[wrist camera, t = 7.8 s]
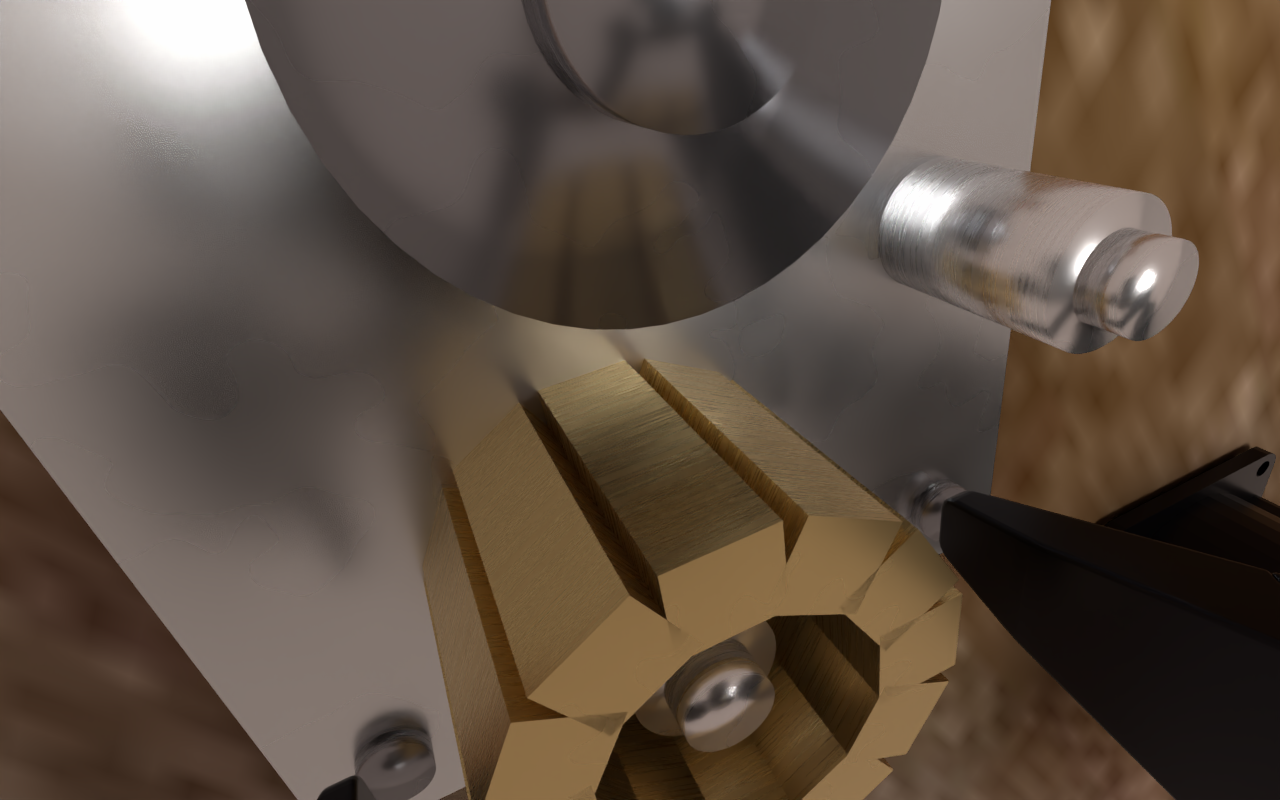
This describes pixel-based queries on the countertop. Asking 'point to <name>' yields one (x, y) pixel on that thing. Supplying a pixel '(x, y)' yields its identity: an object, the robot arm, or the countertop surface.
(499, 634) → the planet gear
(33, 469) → the countertop surface
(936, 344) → the carrier plate
